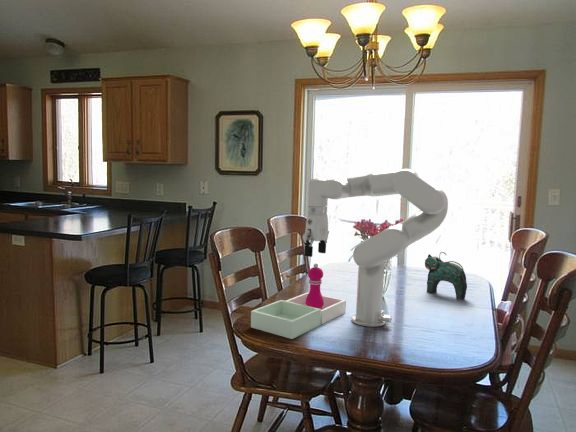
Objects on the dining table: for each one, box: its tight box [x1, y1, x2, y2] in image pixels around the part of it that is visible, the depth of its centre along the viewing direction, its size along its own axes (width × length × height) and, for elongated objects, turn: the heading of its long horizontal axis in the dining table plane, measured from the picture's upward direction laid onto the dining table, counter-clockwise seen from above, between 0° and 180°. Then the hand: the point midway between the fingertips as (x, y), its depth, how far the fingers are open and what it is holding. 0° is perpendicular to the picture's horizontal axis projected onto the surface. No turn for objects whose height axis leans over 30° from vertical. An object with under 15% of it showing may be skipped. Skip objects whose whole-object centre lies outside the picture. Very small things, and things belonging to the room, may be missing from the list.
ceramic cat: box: [424, 251, 468, 301], centre depth 215 cm, size 20×6×20 cm, turn 41°
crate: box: [285, 291, 347, 325], centre depth 184 cm, size 18×18×5 cm
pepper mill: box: [305, 263, 324, 310], centre depth 183 cm, size 7×7×20 cm
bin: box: [250, 299, 322, 340], centre depth 169 cm, size 18×18×6 cm
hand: (315, 254), depth 182 cm, fingers open, 9 cm apart
